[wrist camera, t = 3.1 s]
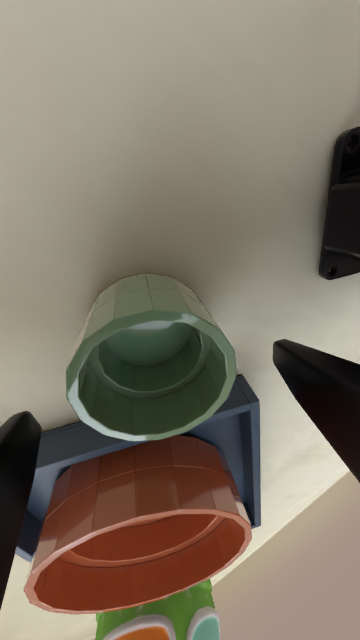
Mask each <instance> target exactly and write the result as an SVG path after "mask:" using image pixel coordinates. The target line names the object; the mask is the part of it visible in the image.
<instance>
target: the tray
mask: <svg viewBox="0 0 360 640" xmlns="http://www.w3.org/2000/svg"><path fill="white" fill-rule="evenodd" d="M178 435H181V436H189V437H195V438H198V439H200V440H202V441H205V442H207V443H209V444H211V445H213V446H216V448H217V449H218V450H219V451H220V452H221V453H222V455H223V456H224V457H225V458H226V460H227V463H228V465H229V468H230V471H231V473H232V476H233V479H234V481H235V484H236V487H237V489H238V492H239V495H240V497H241V500H242V503H243V505H244V508H245V511H246V513H247V516H248V519H249V521H250V524H251V529H253V528H256V527H259V526H261V504H260V406H259V399H258V398H257V396H256V395H255V393H254V392H253V390H252V389H251V387H250V386H249V384H248V383H247V381H246V379H245V378H244V376H243V375H240V376H236V378H235V381H234V383H233V386H232V388H231V391H230V393H229V396H228V398H227V399H226V400H225V402H224V403H223V404H222V405H221V406H220V407H219V408H218V409H217V410H216V412H215V413H214V414H213V415H212V416H211V417H210V418H209V419H207V420H205V421H204V422H202V423H200V424H199V425H197V426H195V427H194V428H192V429H191V430H189V431H187V432H184V433H181V434H178ZM149 441H150V440H149ZM144 442H147V441H127V440H123V439H119V438H114V437H110V436H105V435H103V434H101V433H100V432H98V431H97V430H95V429H93V428H92V427H90V426H89V425H87V424H85V423H84V422H82V421H81V422H78V423H74V424H71V425H67V426H64V427H60V428H57V429H54V430H50V431H47V432H43V433H41V439H40V445H39V451H38V458H37V464H36V471H35V476H34V481H33V485H32V489H31V493H30V497H29V501H28V505H27V509H26V512H25V516H24V520H23V524H22V528H21V532H20V536H19V540H18V543H17V547H16V551H15V553H16V554H17V555H19V556H20V557H22V558H23V559H25V560H27V561H28V562H30V563H31V561H32V557H33V553H34V550H35V546H36V543H37V539H38V535H39V532H40V528H41V525H42V521H43V517H44V514H45V510H46V507H47V503H48V499H49V497H50V494H51V491H52V489H53V486H54V484H55V481H56V480H57V479H58V478H59V477H60V476H61V475H62V474H63V473H64V472H65V471H66V470H67V469H68V468H69V467H70V466H71V465H72V464H75V463H78V462H82V461H85V460H88V459H92V458H95V457H98V456H101V455H105V454H108V453H111V452H114V451H118V450H121V449H124V448H128V447H131V446H134V445H137V444H141V443H144Z"/></svg>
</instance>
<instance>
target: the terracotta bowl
mask: <svg viewBox="0 0 360 640" xmlns="http://www.w3.org/2000/svg"><path fill="white" fill-rule="evenodd" d="M251 539H252V533H251V524H250V521H249V519H248V516H247V513H246V511H245V508H244V505H243V503H242V500H241V497H240V495H239V492H238V489H237V487H236V484H235V481H234V479H233V476H232V473H231V471H230V468H229V465H228V463H227V460H226V458H225V457H224V456H223V455H222V453H221V452H220V451H219V450H218V449H217V448H216V446H213V445H211V444H209V443H207V442H205V441H202V440H200V439H198V438H195V437H189V436H181V435H175V436H171V437H168V438H165V439H162V440H150V441H147V442H144V443H141V444H137V445H134V446H131V447H128V448H124V449H121V450H118V451H114V452H111V453H108V454H105V455H101V456H98V457H95V458H92V459H88V460H85V461H82V462H78V463H75V464H72V465H71V466H70V467H69V468H68V469H67V470H66V471H65V472H64V473H63V474H62V475H61V476H60V477H59V478H58V479H57V480H56V481H55V484H54V486H53V489H52V491H51V494H50V497H49V499H48V503H47V507H46V510H45V514H44V517H43V521H42V525H41V528H40V532H39V535H38V539H37V543H36V546H35V550H34V553H33V557H32V561H31V564H30V568H29V571H28V575H27V579H26V582H25V586H24V592H25V594H26V596H27V598H28V600H29V602H30V603H31V604H33V605H35V606H37V607H39V608H42V609H44V610H46V611H49V612H56V613H65V614H92V613H104V612H110V611H116V610H122V609H128V608H132V607H136V606H140V605H143V604H147V603H151V602H155V601H158V600H161V599H164V598H166V597H169V596H172V595H174V594H177V593H180V592H183V591H185V590H187V589H189V588H191V587H193V586H196V585H198V584H200V583H202V582H204V581H206V580H208V579H210V578H211V577H213V576H214V575H216V574H218V573H219V572H221V571H222V570H224V569H225V568H227V567H228V566H230V565H231V564H232V563H233V562H234V561H235V560H236V559H237V558H238V557H239V556H240V555H241V554H243V552H244V551H245V549H246V548H247V546H248V544H249V543H250V541H251Z"/></svg>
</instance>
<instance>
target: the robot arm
mask: <svg viewBox="0 0 360 640" xmlns="http://www.w3.org/2000/svg"><path fill="white" fill-rule="evenodd" d="M349 140H351V145H350V148H348V142H349ZM330 269H331V270H330ZM329 270H330V272H329ZM359 272H360V127H356V128H353V129H350V130H347V131H345V132H343V133H342V134H341V135H340V136H339V138H338V140H337V141H336V145H335V150H334V158H333V166H332V174H331V181H330V189H329V197H328V205H327V212H326V220H325V228H324V236H323V244H322V251H321V259H320V267H319V275H320V277H322V278H325V279H327V280H333V279H337V278H340V277H344V276H348V275H352V274H356V273H359ZM273 362H274V364H275V366H276V368H277V369H278V371H279V373H280V374H281V376H282V378H283V379H284V381H285V382H286V384H287V386H288V387H289V389H290V391H291V392H292V394H293V395H294V397H295V399H296V400H297V401H298V403H299V404H300V405H301V407H302V408H303V409H304V411H305V412H306V413H307V415H308V416H309V417H310V419H311V420H312V421H313V422H314V424H315V425H316V426H317V428H318V429H319V430H320V432H321V433H322V434H323V436H324V437H325V438H326V439H327V441H328V442H329V443H330V445H331V446H332V447H333V449H334V450H335V451H336V453H337V454H338V455H339V456H340V458H341V459H342V460H343V462H344V463H345V464H346V466H347V467H348V468H349V470H350V471H351V472H352V473H353V475H354V476H355V477H356V479H357V480H358V481H359V483H360V364H357V363H354V362H351V361H348V360H345V359H342V358H339V357H336V356H334V355H331V354H328V353H325V352H322V351H319V350H316V349H313V348H310V347H307V346H304V345H301V344H298V343H295V342H293V341H290V340H287V339H282V340H278V341H275V342H274V344H273ZM40 439H41V426H40V424H39V423H38V422H37V420H36V419H35V418H34V416H33V415H32V414H31V413H30V412H28V411H24V412H20V413H17V414H14V415H13V416H12V417H11V418H10V419H8V420H7V421H6V422H5V423H4V424H3V425H2V426H1V427H0V609H1V605H2V601H3V598H4V594H5V590H6V586H7V582H8V578H9V574H10V571H11V567H12V563H13V559H14V555H15V551H16V547H17V543H18V540H19V536H20V532H21V528H22V524H23V520H24V516H25V512H26V509H27V505H28V501H29V497H30V493H31V489H32V485H33V481H34V476H35V471H36V464H37V458H38V451H39V445H40Z"/></svg>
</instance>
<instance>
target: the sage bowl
mask: <svg viewBox="0 0 360 640" xmlns="http://www.w3.org/2000/svg"><path fill="white" fill-rule="evenodd" d="M235 378H236V362H235V351H234V349H233V347H232V346H231V344H230V343H229V341H228V340H227V338H226V337H225V335H224V334H223V332H222V331H221V329H220V328H219V327H218V325H217V324H216V322H215V321H214V320H213V318H212V317H211V315H210V314H209V313H208V311H207V310H206V308H205V307H204V306H203V304H202V303H201V302H200V300H199V299H198V297H197V296H196V295H195V293H194V292H193V290H191V288H189V287H187V286H186V285H184V284H182V283H181V282H179V281H177V280H176V279H174V278H173V277H169V276H163V275H156V274H149V273H146V274H145V273H143V274H139V275H135V276H131V277H127V278H123V279H120V280H118V281H116V282H115V283H114V284H112V285H111V286H110V287H108V288H107V289H106V290H104V291H103V292H101V293H100V295H98V296H97V298H96V300H95V302H94V304H93V305H92V307H91V309H90V311H89V313H88V315H87V317H86V320H85V322H84V325H83V327H82V330H81V333H80V336H79V338H78V340H77V343H76V345H75V348H74V350H73V353H72V356H71V358H70V361H69V363H68V366H67V369H66V397H67V400H68V401H69V403H70V404H71V406H72V407H73V409H74V411H75V412H76V414H77V415H78V417H79V419H80V420H81V421H82V422H84V423H85V424H87V425H89V426H90V427H92V428H93V429H95V430H97V431H98V432H100V433H101V434H103V435H105V436H110V437H114V438H119V439H123V440H127V441H149V440H162V439H165V438H168V437H171V436H175V435H178V434H181V433H184V432H187V431H189V430H191V429H192V428H194V427H195V426H197V425H199V424H200V423H202V422H204V421H205V420H207V419H209V418H210V417H211V416H212V415H213V414H214V413H215V412H216V410H217V409H218V408H219V407H220V406H221V405H222V404H223V403H224V402H225V400H226V399H227V398H228V396H229V393H230V391H231V388H232V386H233V383H234V381H235Z"/></svg>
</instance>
